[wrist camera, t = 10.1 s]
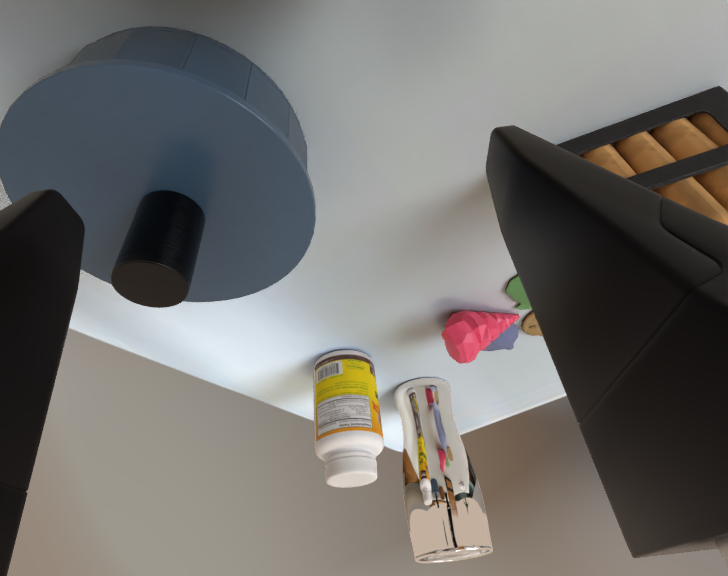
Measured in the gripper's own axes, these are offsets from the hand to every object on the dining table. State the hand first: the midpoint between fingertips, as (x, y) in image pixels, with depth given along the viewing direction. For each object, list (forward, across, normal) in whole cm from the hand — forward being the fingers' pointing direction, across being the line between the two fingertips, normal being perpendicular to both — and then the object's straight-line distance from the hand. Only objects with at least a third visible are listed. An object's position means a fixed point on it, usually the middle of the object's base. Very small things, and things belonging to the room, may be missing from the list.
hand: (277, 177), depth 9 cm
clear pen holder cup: (+12, -5, +36) cm, 39 cm away
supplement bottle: (+12, +2, +28) cm, 31 cm away
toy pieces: (+12, -13, +24) cm, 30 cm away
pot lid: (+7, +6, +6) cm, 11 cm away
